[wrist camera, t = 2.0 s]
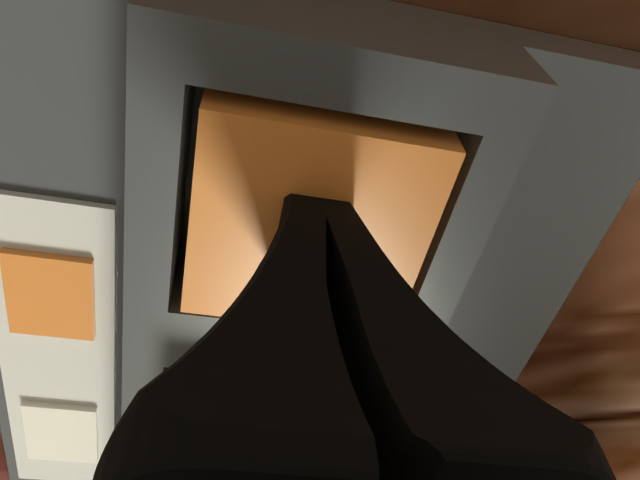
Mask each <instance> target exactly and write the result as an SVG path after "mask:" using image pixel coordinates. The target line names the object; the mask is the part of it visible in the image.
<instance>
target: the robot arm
mask: <svg viewBox="0 0 640 480" xmlns="http://www.w3.org/2000/svg"><path fill="white" fill-rule="evenodd" d="M93 480H616V478H615V476H614V474H613V471H612V469H611V467H610V465H609V463H608V461H607V459H606V457H605V455H604V453H603V451H602V449H601V447H600V445H599V443H598V441H597V439H596V437H595V435H594V433H593V431H592V430H590V429H589V428H587V427H586V426H584V425H582V424H581V423H579V422H577V421H576V420H574V419H572V418H571V417H569V416H567V415H566V414H564V413H563V412H561V411H559V410H558V409H556V408H554V407H553V406H551V405H549V404H548V403H546V402H544V401H543V400H541V399H540V398H538V397H537V396H535V395H534V394H532V393H531V392H529V391H528V390H527V389H525V388H524V387H522V386H521V385H519V384H518V383H517V382H515V381H514V380H512V379H511V378H510V377H508V376H507V375H505V374H504V373H503V372H501V371H500V370H499V369H498V368H496V367H495V366H494V365H492V364H491V363H490V362H488V361H487V360H486V359H485V358H484V357H482V356H481V355H480V354H479V353H478V352H476V351H475V350H474V349H473V348H472V347H470V346H469V345H468V344H467V343H466V342H464V341H463V340H462V339H461V338H460V337H459V336H458V335H457V334H456V333H454V332H453V331H452V330H451V329H450V328H449V327H448V326H447V325H446V324H445V323H444V322H443V321H442V320H441V319H440V318H439V317H438V316H437V315H436V314H435V313H434V312H433V311H432V310H431V309H430V308H429V307H428V306H427V305H426V304H425V303H424V302H423V300H422V299H421V298H420V297H419V296H418V295H417V294H416V293H415V291H414V290H413V289H412V288H411V287H410V285H409V284H408V283H407V282H406V281H405V280H404V278H403V277H402V276H401V275H400V273H399V272H398V271H397V270H396V268H395V267H394V266H393V264H392V263H391V262H390V260H389V259H388V258H387V256H386V255H385V253H384V252H383V251H382V249H381V248H380V246H379V245H378V243H377V242H376V241H375V239H374V238H373V236H372V235H371V233H370V232H369V230H368V229H367V227H366V226H365V224H364V222H363V221H362V219H361V218H360V216H359V215H358V213H357V212H356V210H355V209H354V207H353V206H352V204H351V203H350V202H347V201H340V200H333V199H326V198H319V197H312V196H306V195H299V194H292V193H291V194H289V195H287V196H286V197H284V201H283V206H282V211H281V216H280V221H279V226H278V229H277V231H276V233H275V236H274V238H273V240H272V242H271V244H270V246H269V248H268V250H267V252H266V254H265V256H264V257H263V259H262V261H261V262H260V264H259V266H258V268H257V269H256V271H255V273H254V274H253V276H252V277H251V279H250V280H249V282H248V283H247V285H246V286H245V287H244V289H243V290H242V292H241V293H240V294H239V296H238V297H237V298H236V299H235V301H234V302H233V303H232V305H231V306H230V307H229V308H228V309H227V310H226V312H225V313H224V314H223V315H222V316H221V317H220V319H219V320H218V321H217V322H216V323H215V324H214V325H213V326H212V327H211V329H210V330H209V331H208V332H207V333H206V334H205V335H204V336H203V337H201V338H200V339H199V340H198V341H197V342H196V343H195V344H194V345H193V346H192V347H191V348H190V349H189V350H188V351H187V352H186V353H185V354H183V355H182V356H181V357H180V358H179V359H178V360H177V361H176V362H174V363H173V364H172V365H171V366H169V367H168V368H167V369H166V370H164V371H163V372H162V373H160V374H159V375H158V376H157V377H155V378H154V379H153V380H151V381H150V382H149V383H148V384H146V385H145V386H144V387H142V388H141V389H140V390H139V391H138V392H137V393H136V395H135V396H134V398H133V399H132V401H131V403H130V404H129V406H128V407H127V409H126V410H125V412H124V414H123V415H122V417H121V419H120V420H119V422H118V424H117V425H116V427H115V429H114V431H113V432H112V434H111V436H110V438H109V440H108V442H107V444H106V446H105V448H104V450H103V452H102V454H101V457H100V459H99V462H98V464H97V467H96V469H95V472H94V476H93Z"/></svg>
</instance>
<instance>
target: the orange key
mask: <svg viewBox="0 0 640 480" xmlns="http://www.w3.org/2000/svg"><path fill="white" fill-rule="evenodd" d="M465 156H466V152H465V150H464V148H463V146H462V144H461V142H460V140H459V138H458V136H457V134H456V132H455V131H451V130H446V129H440V128H434V127H428V126H423V125H417V124H411V123H405V122H400V121H394V120H388V119H382V118H376V117H371V116H365V115H359V114H353V113H348V112H342V111H336V110H330V109H325V108H319V107H313V106H307V105H302V104H296V103H290V102H284V101H278V100H273V99H267V98H261V97H255V96H250V95H244V94H238V93H232V92H227V91H221V90H215V89H209V88H205V89H204V93H203V96H202V100H201V104H200V108H199V117H198V127H197V138H196V149H195V160H194V170H193V181H192V192H191V203H190V214H189V224H188V235H187V246H186V257H185V267H184V278H183V289H182V300H181V310H180V312H185V313H193V314H202V315H211V316H220V317H221V316H222V315H223V314H224V313H225V312H226V310H227V309H228V308H229V307H230V306H231V305H232V303H233V302H234V301H235V299H236V298H237V297H238V296H239V294H240V293H241V292H242V290H243V289H244V287H245V286H246V285H247V283H248V282H249V280H250V279H251V277H252V276H253V274H254V273H255V271H256V269H257V268H258V266H259V264H260V262H261V261H262V259H263V257H264V256H265V254H266V252H267V250H268V248H269V246H270V244H271V242H272V240H273V238H274V236H275V233H276V231H277V229H278V226H279V221H280V216H281V211H282V206H283V201H284V197H286V196H287V195H289V194H291V193H292V194H299V195H306V196H312V197H319V198H326V199H333V200H340V201H347V202H350V203H351V204H352V206H353V207H354V209H355V210H356V212H357V213H358V215H359V216H360V218H361V219H362V221H363V222H364V224H365V226H366V227H367V229H368V230H369V232H370V233H371V235H372V236H373V238H374V239H375V241H376V242H377V243H378V245H379V246H380V248H381V249H382V251H383V252H384V253H385V255H386V256H387V258H388V259H389V260H390V262H391V263H392V264H393V266H394V267H395V268H396V270H397V271H398V272H399V273H400V275H401V276H402V277H403V278H404V280H405V281H406V282H407V283H408V284H409V285H410V287H411V288H412V289H413V286H414V284H415V281H416V279H417V276H418V274H419V271H420V269H421V266H422V264H423V261H424V258H425V256H426V253H427V251H428V248H429V246H430V243H431V241H432V238H433V236H434V233H435V231H436V228H437V226H438V223H439V221H440V218H441V216H442V213H443V211H444V208H445V206H446V203H447V201H448V198H449V196H450V193H451V191H452V188H453V186H454V183H455V181H456V178H457V176H458V173H459V171H460V168H461V166H462V163H463V161H464V158H465Z"/></svg>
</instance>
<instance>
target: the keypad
mask: <svg viewBox="0 0 640 480" xmlns="http://www.w3.org/2000/svg"><path fill="white" fill-rule="evenodd" d="M205 88H209V89H215V90H221V91H227V92H232V93H238V94H244V95H250V96H255V97H261V98H267V99H273V100H278V101H284V102H290V103H296V104H302V105H307V106H313V107H319V108H325V109H330V110H336V111H342V112H348V113H353V114H359V115H365V116H371V117H376V118H382V119H388V120H394V121H400V122H405V123H411V124H417V125H423V126H428V127H434V128H440V129H446V130H451V131H455V132H456V134H457V136H458V138H459V140H460V142H461V144H462V146H463V148H464V150H465V152H466V156H465V158H464V161H463V163H462V166H461V168H460V171H459V173H458V176H457V178H456V181H455V183H454V186H453V188H452V191H451V193H450V196H449V198H448V201H447V203H446V206H445V208H444V211H443V213H442V216H441V218H440V221H439V223H438V226H437V228H436V231H435V233H434V236H433V238H432V241H431V243H430V246H429V248H428V251H427V253H426V256H425V258H424V261H423V264H422V266H421V269H420V271H419V274H418V276H417V279H416V281H415V284H414V286H413V290H414V291H415V293H416V294H417V295H418V296H419V297H420V298H421V299H422V300H423V302H424V303H425V304H426V305H427V306H428V307H429V308H430V309H431V310H432V311H433V312H434V313H435V314H436V315H437V316H438V317H439V318H440V319H441V320H442V321H443V322H444V323H445V324H446V325H447V326H448V327H449V328H450V329H451V330H452V331H453V332H454V333H456V334H457V335H458V336H459V337H460V338H461V339H462V340H463V341H464V342H466V343H467V344H468V345H469V346H470V347H472V348H473V349H474V350H475V351H476V352H478V353H479V354H480V355H481V356H482V357H484V358H485V359H486V360H487V361H488V362H490V363H491V364H492V365H494V366H495V367H496V368H498V369H499V370H500V371H501V372H503V373H504V374H505V375H507V376H508V377H510V378H511V379H512V380H514V381H515V382H516V380H517V378H518V377H519V375H520V373H521V372H522V370H523V368H524V367H525V365H526V364H527V362H528V360H529V359H530V357H531V355H532V354H533V352H534V350H535V349H536V347H537V346H538V344H539V342H540V341H541V339H542V337H543V336H544V334H545V332H546V331H547V329H548V328H549V326H550V324H551V323H552V321H553V319H554V318H555V316H556V314H557V313H558V311H559V310H560V308H561V306H562V305H563V303H564V301H565V300H566V298H567V296H568V295H569V293H570V292H571V290H572V288H573V287H574V285H575V283H576V282H577V280H578V278H579V277H580V275H581V273H582V272H583V270H584V269H585V267H586V265H587V264H588V262H589V260H590V259H591V257H592V255H593V254H594V252H595V251H596V249H597V247H598V246H599V244H600V242H601V241H602V239H603V237H604V236H605V234H606V233H607V231H608V229H609V228H610V226H611V224H612V223H613V221H614V219H615V218H616V216H617V215H618V213H619V211H620V210H621V208H622V206H623V205H624V203H625V201H626V200H627V198H628V196H629V195H630V193H631V192H632V190H633V188H634V187H635V185H636V183H637V182H638V180H639V178H640V52H638V51H633V50H628V49H623V48H618V47H613V46H609V45H604V44H599V43H594V42H589V41H584V40H579V39H575V38H570V37H565V36H560V35H555V34H550V33H546V32H541V31H536V30H531V29H526V28H521V27H517V26H512V25H507V24H502V23H497V22H492V21H488V20H483V19H478V18H473V17H468V16H463V15H459V14H454V13H449V12H444V11H439V10H434V9H429V8H425V7H420V6H415V5H410V4H405V3H400V2H396V1H391V0H0V427H1V432H2V438H3V443H4V449H5V454H6V460H7V465H8V471H9V476H10V480H93V476H94V472H95V469H96V467H97V464H98V462H99V459H100V457H101V454H102V452H103V450H104V448H105V446H106V444H107V442H108V440H109V438H110V436H111V434H112V432H113V431H114V429H115V427H116V425H117V424H118V422H119V420H120V419H121V417H122V415H123V414H124V412H125V410H126V409H127V407H128V406H129V404H130V403H131V401H132V399H133V398H134V396H135V395H136V393H137V392H138V391H139V390H140V389H141V388H142V387H144V386H145V385H146V384H148V383H149V382H150V381H151V380H153V379H154V378H155V377H157V376H158V375H159V374H160V373H162V372H163V371H164V370H166V369H167V368H168V367H169V366H171V365H172V364H173V363H174V362H176V361H177V360H178V359H179V358H180V357H181V356H182V355H183V354H185V353H186V352H187V351H188V350H189V349H190V348H191V347H192V346H193V345H194V344H195V343H196V342H197V341H198V340H199V339H200V338H201V337H203V336H204V335H205V334H206V333H207V332H208V331H209V330H210V329H211V327H212V326H213V325H214V324H215V323H216V322H217V321H218V320H219V319H220V316H211V315H202V314H193V313H185V312H180V310H181V300H182V289H183V278H184V267H185V257H186V246H187V235H188V224H189V214H190V203H191V192H192V181H193V170H194V160H195V149H196V138H197V127H198V117H199V108H200V104H201V100H202V96H203V93H204V89H205Z"/></svg>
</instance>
